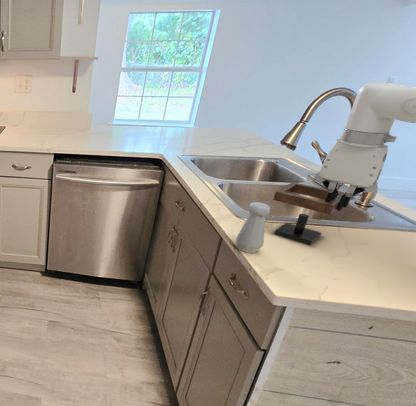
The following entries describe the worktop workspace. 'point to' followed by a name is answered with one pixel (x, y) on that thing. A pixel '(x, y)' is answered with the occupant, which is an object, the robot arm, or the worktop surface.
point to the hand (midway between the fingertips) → (334, 207)
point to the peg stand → (298, 231)
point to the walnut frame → (304, 202)
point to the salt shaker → (253, 228)
